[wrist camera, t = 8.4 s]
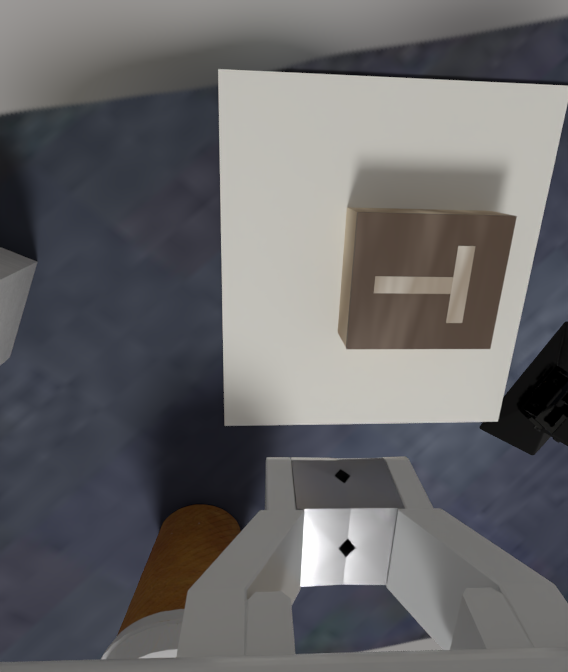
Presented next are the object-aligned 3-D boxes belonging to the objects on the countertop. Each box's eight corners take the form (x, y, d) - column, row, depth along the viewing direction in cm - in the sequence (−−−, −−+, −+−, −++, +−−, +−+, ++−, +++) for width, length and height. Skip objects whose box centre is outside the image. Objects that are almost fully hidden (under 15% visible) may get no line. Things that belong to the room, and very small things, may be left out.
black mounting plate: (567, 297, 32) (617, 319, 28) (637, 346, 34) (694, 373, 30) (456, 434, 35) (484, 472, 31) (525, 471, 37) (561, 512, 33)
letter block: (346, 207, 28) (490, 210, 29) (337, 332, 31) (468, 332, 32) (358, 212, 25) (517, 216, 26) (346, 349, 28) (490, 349, 29)
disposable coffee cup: (118, 506, 35) (57, 671, 23) (241, 471, 34) (239, 622, 23) (163, 595, 38) (130, 776, 27) (276, 564, 38) (289, 734, 27)
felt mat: (569, 86, 27) (571, 85, 27) (496, 420, 34) (498, 421, 34) (218, 69, 25) (218, 68, 25) (224, 424, 33) (224, 425, 33)
